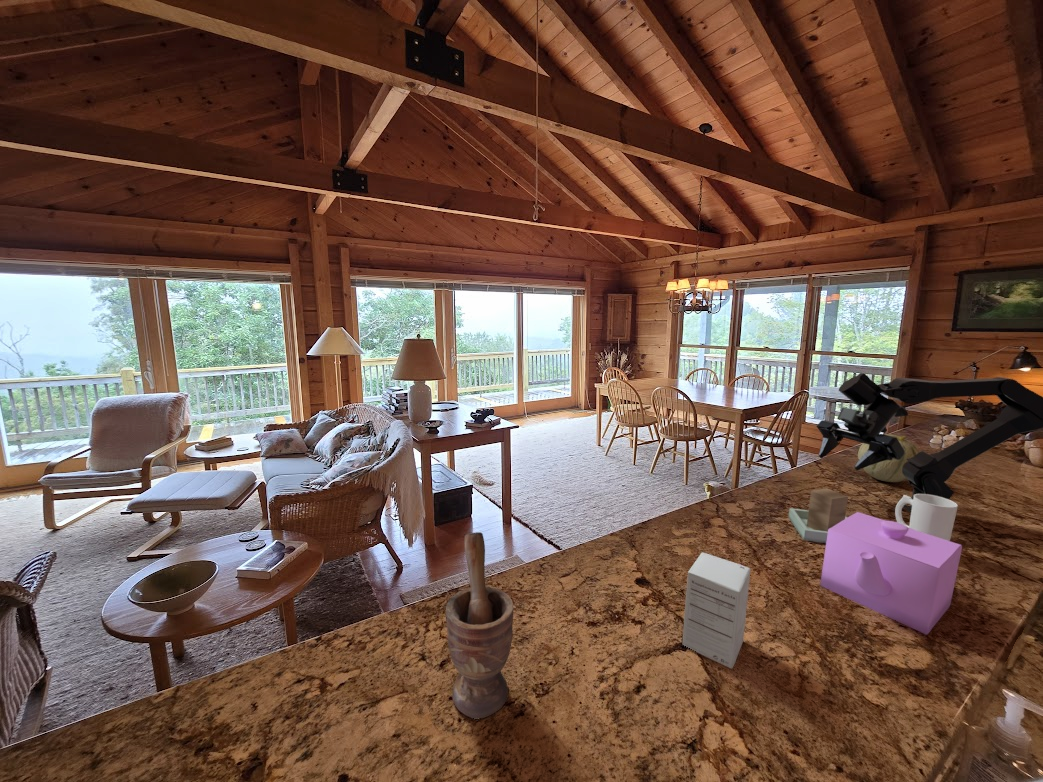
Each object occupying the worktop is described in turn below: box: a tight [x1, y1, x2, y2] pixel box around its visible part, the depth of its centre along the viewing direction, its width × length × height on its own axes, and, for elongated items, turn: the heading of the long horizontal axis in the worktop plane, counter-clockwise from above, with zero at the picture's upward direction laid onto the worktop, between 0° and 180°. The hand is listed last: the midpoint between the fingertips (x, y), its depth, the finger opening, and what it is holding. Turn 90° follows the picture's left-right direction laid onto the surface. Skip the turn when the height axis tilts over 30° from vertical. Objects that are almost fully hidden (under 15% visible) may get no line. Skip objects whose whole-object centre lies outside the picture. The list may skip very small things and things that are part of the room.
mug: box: [894, 494, 959, 541], centre depth 93 cm, size 10×7×12 cm, turn 18°
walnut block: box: [807, 488, 849, 532], centre depth 100 cm, size 5×5×9 cm
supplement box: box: [682, 551, 752, 669], centre depth 65 cm, size 7×7×13 cm
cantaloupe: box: [857, 433, 920, 483], centre depth 132 cm, size 15×15×15 cm
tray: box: [788, 507, 848, 544], centre depth 101 cm, size 12×12×2 cm
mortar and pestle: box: [445, 531, 514, 720], centre depth 57 cm, size 12×9×20 cm
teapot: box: [819, 511, 963, 636], centre depth 76 cm, size 15×25×14 cm, turn 123°
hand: (837, 462), depth 108 cm, fingers open, 9 cm apart
